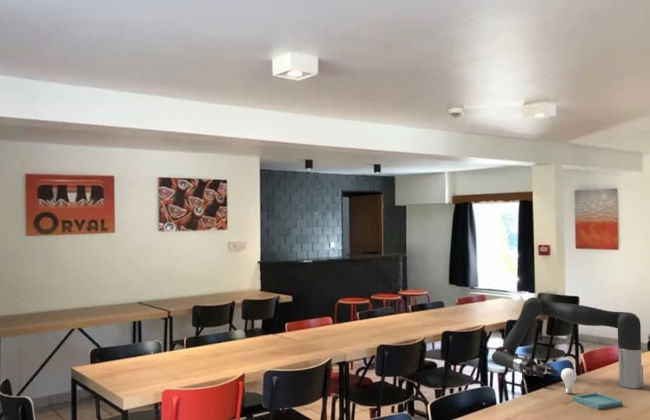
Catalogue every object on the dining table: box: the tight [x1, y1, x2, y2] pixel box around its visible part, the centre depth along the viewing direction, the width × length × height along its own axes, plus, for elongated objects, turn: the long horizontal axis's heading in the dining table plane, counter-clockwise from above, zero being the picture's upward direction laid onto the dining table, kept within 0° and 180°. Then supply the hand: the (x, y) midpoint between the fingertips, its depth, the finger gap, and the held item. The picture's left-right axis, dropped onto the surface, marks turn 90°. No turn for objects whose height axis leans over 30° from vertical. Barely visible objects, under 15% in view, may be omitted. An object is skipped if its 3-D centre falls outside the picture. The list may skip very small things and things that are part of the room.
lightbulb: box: [560, 367, 578, 395], centre depth 247 cm, size 6×6×11 cm
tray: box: [572, 392, 623, 410], centre depth 233 cm, size 13×13×2 cm
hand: (550, 373), depth 257 cm, fingers open, 8 cm apart
